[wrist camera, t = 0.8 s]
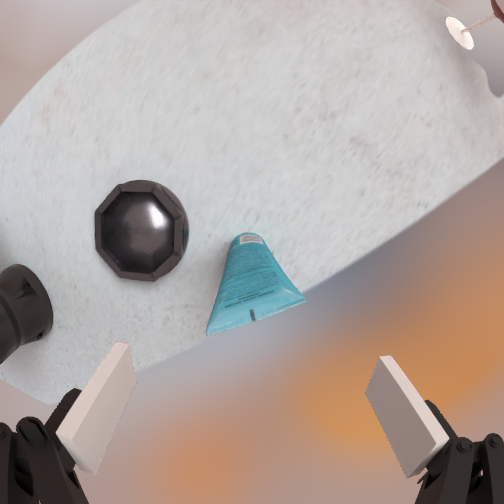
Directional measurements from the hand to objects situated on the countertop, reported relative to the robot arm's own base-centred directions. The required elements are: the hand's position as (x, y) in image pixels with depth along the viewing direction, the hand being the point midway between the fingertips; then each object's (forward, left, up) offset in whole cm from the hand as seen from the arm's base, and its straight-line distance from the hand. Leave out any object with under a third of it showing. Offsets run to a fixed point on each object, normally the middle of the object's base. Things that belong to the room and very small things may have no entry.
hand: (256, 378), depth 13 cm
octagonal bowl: (-15, +2, -25) cm, 30 cm away
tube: (0, 0, -26) cm, 26 cm away
